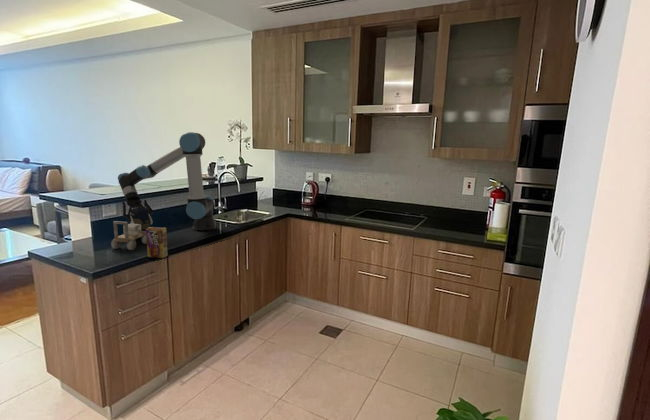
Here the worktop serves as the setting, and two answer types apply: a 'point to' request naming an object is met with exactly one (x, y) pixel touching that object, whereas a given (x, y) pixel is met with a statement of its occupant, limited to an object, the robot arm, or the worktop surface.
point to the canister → (141, 217)
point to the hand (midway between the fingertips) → (142, 224)
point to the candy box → (156, 242)
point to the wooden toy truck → (128, 235)
